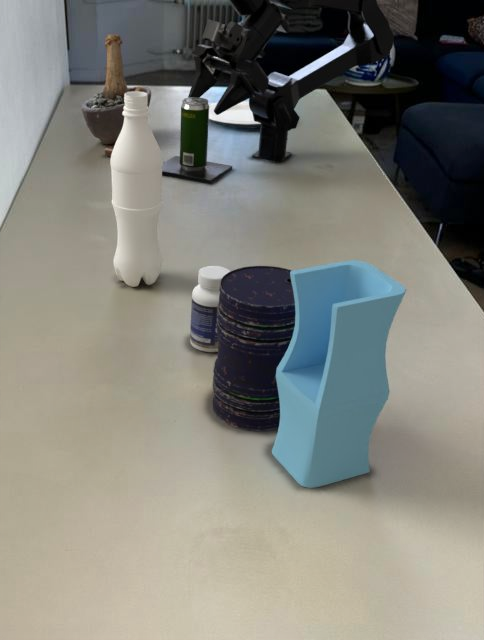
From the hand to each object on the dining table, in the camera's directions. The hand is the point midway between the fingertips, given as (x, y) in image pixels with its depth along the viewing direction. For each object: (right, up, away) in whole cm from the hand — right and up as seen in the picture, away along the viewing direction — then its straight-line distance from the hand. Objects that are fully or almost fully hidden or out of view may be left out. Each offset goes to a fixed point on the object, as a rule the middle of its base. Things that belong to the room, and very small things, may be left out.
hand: (201, 107), depth 145 cm
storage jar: (+3, -65, -57) cm, 86 cm away
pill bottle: (-1, -55, -45) cm, 72 cm away
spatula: (-7, -7, +9) cm, 14 cm away
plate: (+12, +16, +36) cm, 41 cm away
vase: (+9, -72, -64) cm, 97 cm away
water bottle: (-11, -43, -31) cm, 54 cm away
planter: (-17, +5, +23) cm, 29 cm away
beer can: (-1, -9, +7) cm, 11 cm away
